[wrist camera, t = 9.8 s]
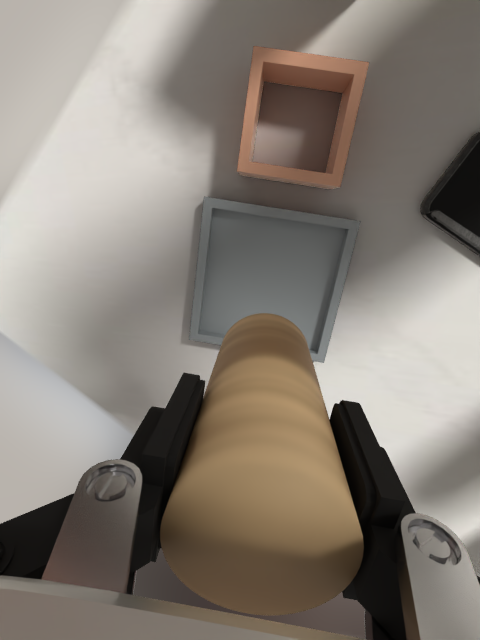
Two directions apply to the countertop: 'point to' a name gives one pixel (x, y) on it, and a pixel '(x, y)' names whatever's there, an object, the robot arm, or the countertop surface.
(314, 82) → the pink hollow square box
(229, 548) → the pin
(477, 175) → the phone
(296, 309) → the tray
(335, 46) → the countertop surface
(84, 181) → the countertop surface
